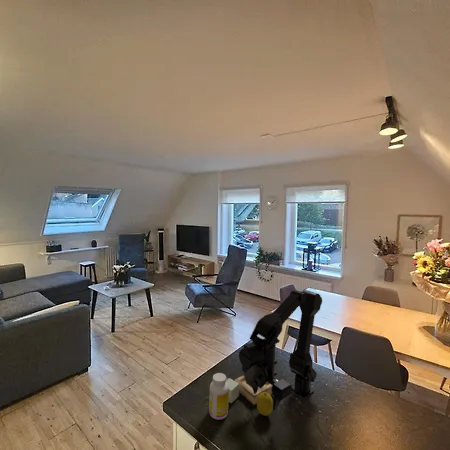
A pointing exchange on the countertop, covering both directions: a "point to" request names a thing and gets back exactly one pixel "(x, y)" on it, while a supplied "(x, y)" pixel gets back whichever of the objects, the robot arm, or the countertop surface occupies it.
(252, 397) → the square tray
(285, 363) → the countertop surface
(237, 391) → the ceramic cube
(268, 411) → the lemon
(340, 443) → the countertop surface
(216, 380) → the supplement bottle
